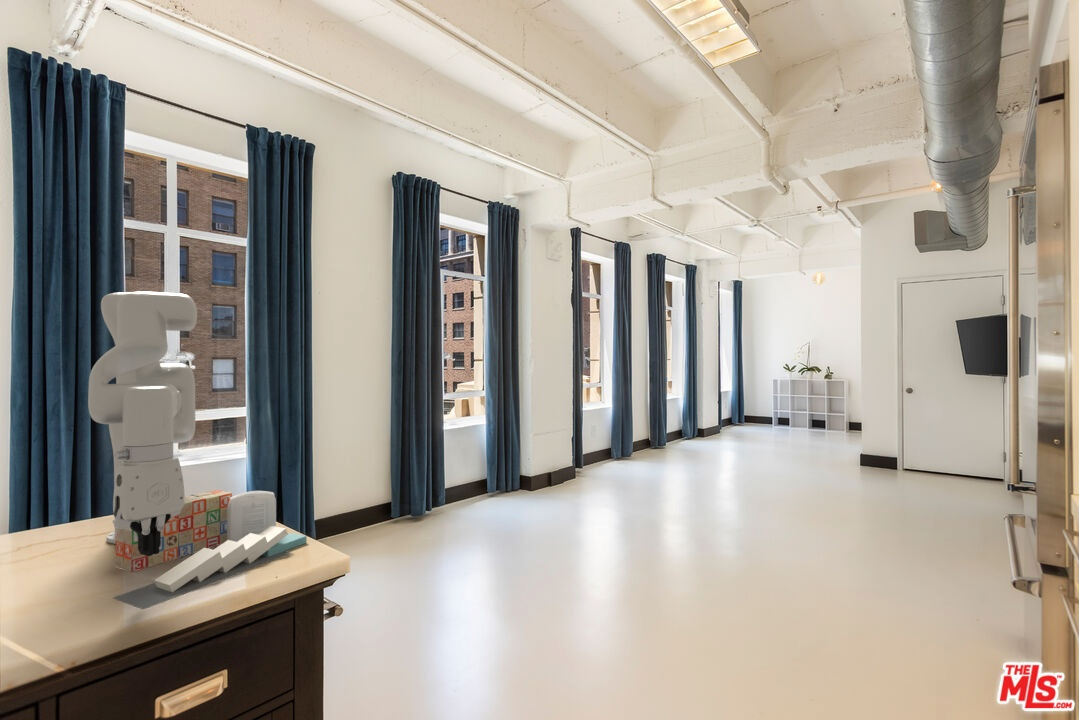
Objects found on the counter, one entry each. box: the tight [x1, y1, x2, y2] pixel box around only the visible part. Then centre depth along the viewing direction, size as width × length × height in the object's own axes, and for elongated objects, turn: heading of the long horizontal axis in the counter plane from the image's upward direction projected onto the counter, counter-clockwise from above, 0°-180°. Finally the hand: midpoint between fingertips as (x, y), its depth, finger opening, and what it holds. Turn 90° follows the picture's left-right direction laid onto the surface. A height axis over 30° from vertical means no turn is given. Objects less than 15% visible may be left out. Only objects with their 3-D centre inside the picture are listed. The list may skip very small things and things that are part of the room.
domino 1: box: [153, 548, 222, 592], centre depth 106 cm, size 5×2×10 cm
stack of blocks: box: [114, 489, 233, 573], centre depth 121 cm, size 21×6×12 cm, turn 152°
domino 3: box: [217, 533, 267, 573], centre depth 115 cm, size 5×2×10 cm
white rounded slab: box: [227, 490, 277, 542], centre depth 129 cm, size 10×4×12 cm, turn 124°
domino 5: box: [262, 532, 308, 557], centre depth 124 cm, size 5×2×10 cm
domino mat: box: [112, 550, 292, 610], centre depth 110 cm, size 10×30×1 cm, turn 153°
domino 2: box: [191, 540, 245, 582], centre depth 111 cm, size 5×2×10 cm
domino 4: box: [241, 525, 289, 563], centre depth 120 cm, size 5×2×10 cm
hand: (149, 553), depth 100 cm, fingers closed
